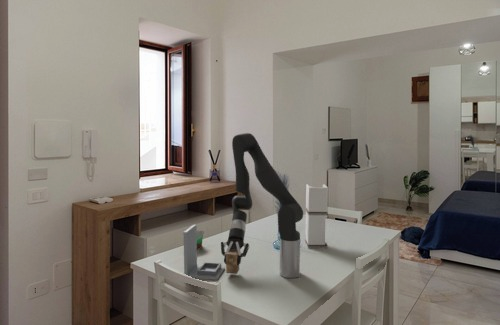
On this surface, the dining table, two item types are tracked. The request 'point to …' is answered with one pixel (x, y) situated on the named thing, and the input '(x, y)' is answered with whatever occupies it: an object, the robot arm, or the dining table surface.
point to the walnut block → (232, 262)
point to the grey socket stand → (190, 259)
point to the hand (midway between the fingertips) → (231, 263)
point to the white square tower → (316, 216)
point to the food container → (199, 238)
